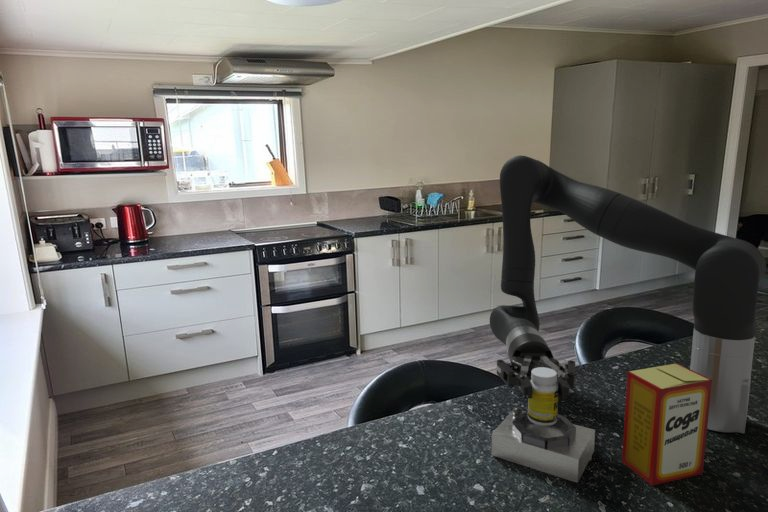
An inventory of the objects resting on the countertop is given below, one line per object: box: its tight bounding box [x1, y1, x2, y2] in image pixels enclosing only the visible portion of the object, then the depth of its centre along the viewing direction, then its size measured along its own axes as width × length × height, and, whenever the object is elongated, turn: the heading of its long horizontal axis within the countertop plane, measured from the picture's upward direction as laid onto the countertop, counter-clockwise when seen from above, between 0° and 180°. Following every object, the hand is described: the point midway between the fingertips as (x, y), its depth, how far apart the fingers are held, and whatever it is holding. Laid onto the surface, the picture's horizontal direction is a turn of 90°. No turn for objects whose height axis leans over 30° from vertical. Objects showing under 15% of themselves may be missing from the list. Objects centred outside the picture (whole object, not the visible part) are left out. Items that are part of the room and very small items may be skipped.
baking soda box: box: [621, 363, 712, 487], centre depth 82 cm, size 10×6×16 cm
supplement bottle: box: [527, 367, 559, 426], centre depth 86 cm, size 5×5×8 cm
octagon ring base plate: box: [491, 406, 596, 484], centre depth 88 cm, size 14×10×5 cm
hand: (547, 393), depth 83 cm, fingers closed on supplement bottle, 4 cm apart
